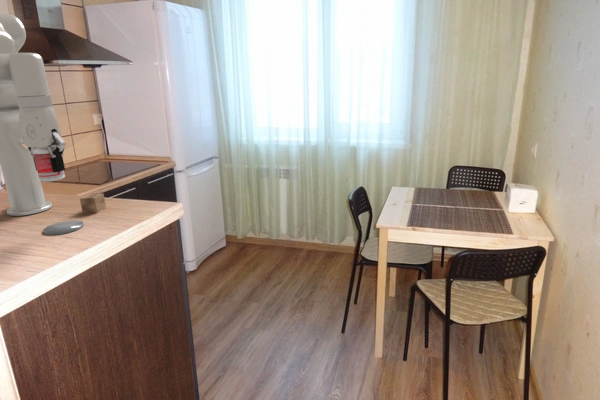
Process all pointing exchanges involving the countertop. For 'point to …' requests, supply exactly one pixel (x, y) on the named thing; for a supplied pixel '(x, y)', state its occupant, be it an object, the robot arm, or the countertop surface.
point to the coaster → (63, 227)
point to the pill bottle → (46, 165)
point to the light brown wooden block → (92, 203)
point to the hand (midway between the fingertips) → (50, 170)
